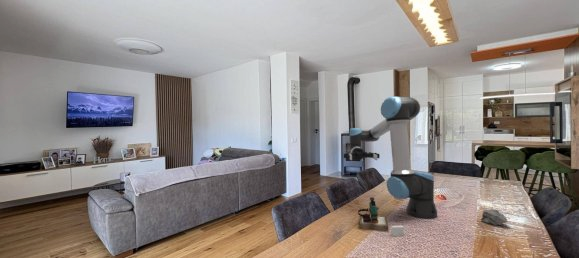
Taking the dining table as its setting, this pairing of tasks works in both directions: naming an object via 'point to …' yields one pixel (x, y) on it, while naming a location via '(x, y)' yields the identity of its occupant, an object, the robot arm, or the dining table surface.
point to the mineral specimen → (493, 217)
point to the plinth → (375, 224)
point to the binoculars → (372, 211)
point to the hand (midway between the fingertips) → (363, 157)
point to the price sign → (397, 230)
